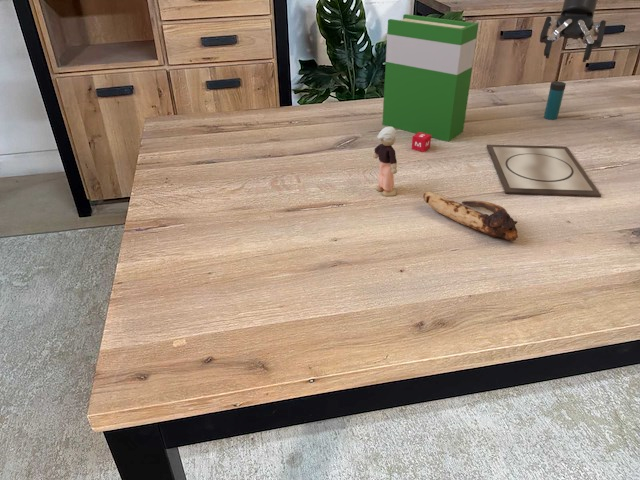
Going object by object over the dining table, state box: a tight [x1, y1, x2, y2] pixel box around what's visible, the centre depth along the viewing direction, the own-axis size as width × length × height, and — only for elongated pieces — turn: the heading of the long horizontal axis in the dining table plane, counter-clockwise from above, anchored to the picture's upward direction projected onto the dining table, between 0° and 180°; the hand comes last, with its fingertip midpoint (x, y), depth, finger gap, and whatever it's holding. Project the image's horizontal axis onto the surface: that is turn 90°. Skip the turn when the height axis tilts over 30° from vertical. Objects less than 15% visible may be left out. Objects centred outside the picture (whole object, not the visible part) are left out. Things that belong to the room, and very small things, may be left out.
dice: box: [411, 132, 432, 153], centre depth 117 cm, size 3×3×3 cm
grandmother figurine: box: [372, 126, 398, 197], centre depth 98 cm, size 8×4×13 cm, turn 35°
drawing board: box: [486, 144, 602, 198], centre depth 108 cm, size 17×22×1 cm
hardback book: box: [381, 13, 479, 142], centre depth 121 cm, size 18×7×24 cm, turn 52°
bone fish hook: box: [422, 191, 519, 242], centre depth 91 cm, size 9×5×18 cm
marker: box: [543, 80, 567, 121], centre depth 130 cm, size 3×3×8 cm
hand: (565, 58), depth 131 cm, fingers open, 8 cm apart
